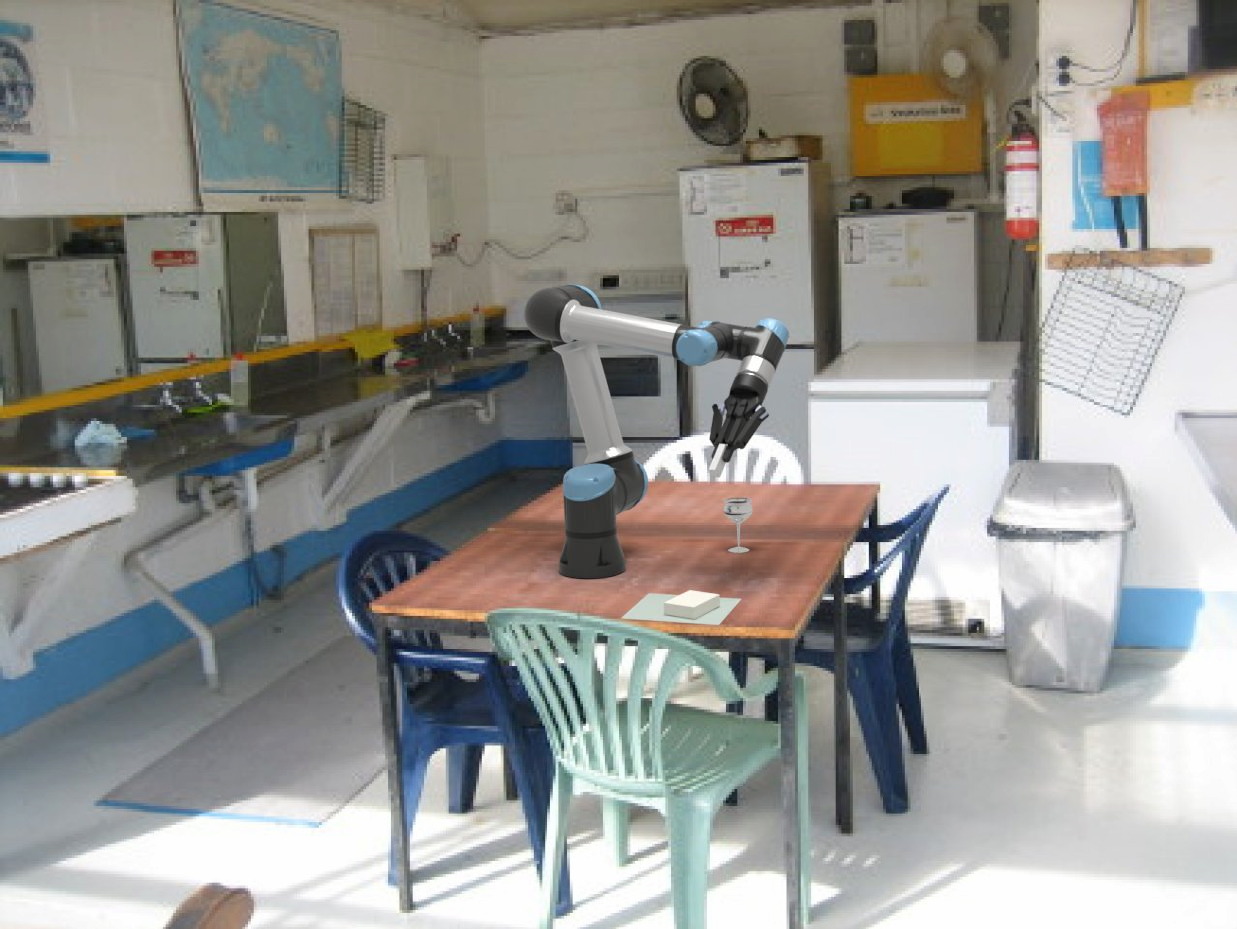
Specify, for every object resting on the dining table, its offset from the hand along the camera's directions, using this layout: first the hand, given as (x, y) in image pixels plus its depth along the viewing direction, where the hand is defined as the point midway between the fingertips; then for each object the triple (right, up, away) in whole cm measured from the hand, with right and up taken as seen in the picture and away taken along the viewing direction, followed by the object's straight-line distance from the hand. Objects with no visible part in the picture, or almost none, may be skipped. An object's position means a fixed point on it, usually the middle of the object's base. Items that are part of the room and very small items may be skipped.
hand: (714, 473), depth 273 cm
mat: (-7, -28, -5) cm, 29 cm away
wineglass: (+9, -19, +41) cm, 46 cm away
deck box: (-2, -25, -3) cm, 26 cm away
